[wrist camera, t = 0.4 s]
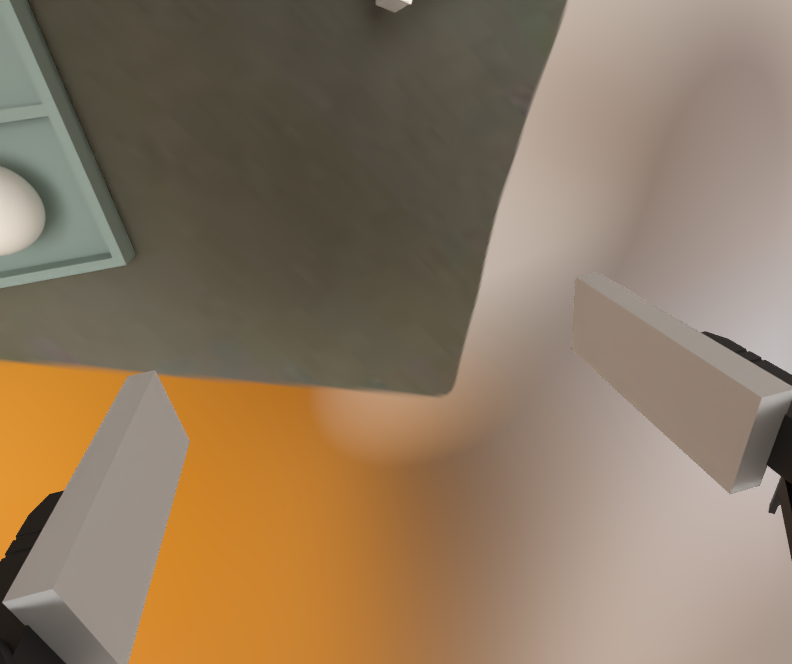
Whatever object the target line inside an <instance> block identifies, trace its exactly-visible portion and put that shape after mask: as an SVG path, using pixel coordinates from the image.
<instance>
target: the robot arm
mask: <svg viewBox="0 0 792 664" xmlns="http://www.w3.org/2000/svg"><path fill="white" fill-rule="evenodd" d="M571 349H572V350H573V351H574V352H575V353H576V354H577V355H578V356H579V357H580V358H582V359H583V360H584V361H585V362H586V363H587V364H588V365H589V366H590V367H591V368H593V369H594V370H595V371H596V372H597V373H598V374H599V375H600V376H602V378H604V379H605V380H606V381H607V382H608V383H609V384H610V385H611V386H612V387H613V388H614V389H615V390H617V391H618V392H619V393H620V394H621V395H622V396H623V397H624V398H625V399H627V400H628V401H629V402H630V403H631V404H632V405H633V406H634V407H635V408H636V409H637V410H639V411H640V412H641V413H642V414H643V415H644V416H645V417H646V418H647V419H648V420H649V421H650V422H652V423H653V424H654V425H655V426H656V427H657V428H658V429H659V430H660V431H661V432H663V433H664V434H665V435H666V436H667V437H668V438H669V439H670V440H671V441H672V442H673V443H675V444H676V445H677V446H678V447H679V448H680V449H681V450H682V451H683V452H684V453H686V454H687V455H688V456H689V457H690V458H691V459H692V460H693V461H694V462H695V463H696V464H698V465H699V466H700V467H701V468H702V469H703V470H704V471H705V472H706V473H707V474H709V475H710V476H711V477H712V478H713V479H714V480H715V481H716V482H717V483H718V484H719V485H721V486H722V487H723V488H724V489H725V490H726V491H727V492H728V493H729V494H733V493H736V492H739V491H743V490H746V489H750V488H753V487H757V486H760V484H761V481H762V479H763V476H764V473H765V471H766V468H767V465H768V466H769V467H770V468H771V469H773V470H774V471H775V472H777V473H778V474H779V475H780V476H781V478H780V480H779V483H778V485H777V488H776V491H775V493H774V495H773V498H772V501H771V503H770V506H769V513H773V514H775V512H776V510H777V507H778V506H779V505H781V508H782V513H783V518H784V524H785V528H786V534H787V539H788V543H789V549H790V554H791V559H792V375H791V374H789V373H787V372H786V371H784V370H782V369H780V368H778V367H777V366H775V365H773V364H772V363H770V362H768V361H766V360H762V359H761V357H759V356H757V355H756V354H754V353H752V352H750V351H749V352H747V351H746V349H745V348H743V347H742V346H740V345H738V344H736V343H734V342H733V341H731V340H729V339H727V338H724V337H721V336H718V335H715V334H712V333H709V332H699V331H697V330H695V329H694V328H692V327H690V326H689V325H687V324H685V323H684V322H682V321H680V320H678V319H677V318H675V317H673V316H672V315H670V314H668V313H667V312H665V311H663V310H661V309H660V308H658V307H656V306H655V305H653V304H651V303H650V302H648V301H646V300H644V299H643V298H641V297H639V296H638V295H636V294H634V293H632V292H631V291H629V290H627V289H626V288H624V287H622V286H621V285H619V284H617V283H615V282H614V281H612V280H610V279H609V278H607V277H605V276H604V275H602V274H600V273H598V272H595V273H590V274H586V275H582V276H577V277H576V280H575V296H574V311H573V328H572V343H571ZM189 442H190V441H189V439H188V437H187V435H186V433H185V431H184V428H183V427H182V424H181V422H180V420H179V418H178V416H177V414H176V412H175V410H174V408H173V406H172V404H171V402H170V400H169V398H168V395H167V393H166V392H165V389H164V387H163V385H162V383H161V381H160V379H159V377H158V375H157V373H156V371H155V370H154V371H150V372H145V373H141V374H136V375H132V376H128V377H127V379H126V380H125V382H124V384H123V386H122V388H121V389H120V391H119V393H118V395H117V397H116V398H115V400H114V402H113V404H112V406H111V407H110V409H109V411H108V413H107V415H106V416H105V418H104V420H103V422H102V424H101V425H100V427H99V429H98V431H97V433H96V434H95V436H94V438H93V440H92V442H91V443H90V445H89V447H88V449H87V451H86V452H85V454H84V456H83V458H82V460H81V462H80V463H79V465H78V467H77V469H76V470H75V472H74V474H73V476H72V478H71V479H70V481H69V483H68V485H67V487H66V488H65V490H64V491H60V492H56V493H52V494H49V495H48V496H47V497H46V498H45V499H44V500H43V501H42V502H41V503H40V504H39V505H38V506H37V507H36V508H35V509H34V510H33V511H32V512H31V513H30V514H29V515H28V517H27V519H26V520H25V522H24V524H23V525H22V527H21V529H20V530H19V532H18V533H17V535H16V540H13V542H12V543H11V545H10V547H9V548H8V550H7V552H6V553H5V555H6V557H5V558H3V559H2V560H1V561H0V664H128V662H129V658H130V655H131V651H132V647H133V643H134V640H135V637H136V633H137V629H138V626H139V622H140V619H141V615H142V611H143V608H144V604H145V601H146V597H147V593H148V590H149V586H150V582H151V579H152V575H153V572H154V568H155V564H156V561H157V557H158V553H159V550H160V546H161V543H162V539H163V535H164V532H165V528H166V525H167V521H168V517H169V514H170V510H171V506H172V503H173V500H174V495H175V492H176V489H177V485H178V481H179V478H180V474H181V471H182V467H183V463H184V460H185V456H186V453H187V449H188V445H189Z"/></svg>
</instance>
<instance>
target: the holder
mask: <svg viewBox="0 0 792 664" xmlns="http://www.w3.org/2000/svg"><path fill="white" fill-rule="evenodd" d="M0 166H2V167H5V168H7V169H9V170H11V171H13V172H15V173H17V174H18V175H20V176H21V177H23V178H24V179H25V180H26V181H27V182H28V183H30V184H31V185H32V187H33V188H34V189H35V190H36V192H37V193H38V194H39V196H40V198H41V200H42V202H43V205H44V208H45V215H46V217H45V225H44V228H43V231H42V233H41V235H40V236H39V238H38V239H37V240H36V241H35V242H34V243H33V244H32V245H30V246H29V247H28V248H26V249H24V250H22V251H20V252H17V253H14V254H10V255H5V256H0V288H4V287H10V286H15V285H20V284H26V283H31V282H37V281H42V280H48V279H53V278H58V277H64V276H69V275H75V274H80V273H86V272H91V271H97V270H102V269H107V268H113V267H118V266H124V265H127V264H128V263H129V262H130V261H131V260H132V259H133V257H134V256H135V255H136V254H135V251H134V249H133V247H132V244H131V242H130V239H129V237H128V235H127V232H126V230H125V228H124V225H123V223H122V221H121V218H120V216H119V214H118V211H117V209H116V207H115V204H114V202H113V200H112V197H111V195H110V193H109V190H108V188H107V185H106V183H105V181H104V178H103V176H102V174H101V171H100V169H99V167H98V164H97V162H96V160H95V157H94V155H93V153H92V150H91V148H90V146H89V143H88V141H87V138H86V136H85V134H84V131H83V129H82V127H81V124H80V122H79V120H78V117H77V115H76V113H75V110H74V108H73V106H72V103H71V101H70V99H69V96H68V94H67V91H66V89H65V87H64V84H63V82H62V80H61V77H60V75H59V73H58V70H57V68H56V66H55V63H54V61H53V59H52V56H51V54H50V52H49V49H48V47H47V44H46V42H45V40H44V37H43V35H42V33H41V30H40V28H39V26H38V23H37V21H36V19H35V16H34V14H33V12H32V9H31V7H30V5H29V2H28V0H0Z"/></svg>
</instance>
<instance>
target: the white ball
mask: <svg viewBox="0 0 792 664" xmlns="http://www.w3.org/2000/svg"><path fill="white" fill-rule="evenodd" d="M45 217H46V215H45V208H44V205H43V202H42V200H41V198H40V196H39V194H38V193H37V192H36V190H35V189H34V188H33V187H32V185H31V184H30V183H28V182H27V181H26V180H25V179H24V178H23V177H21V176H20V175H18V174H17V173H15V172H13V171H11V170H9V169H7V168H5V167H2V166H0V256H5V255H10V254H14V253H17V252H20V251H22V250H24V249H26V248H28V247H29V246H30V245H32V244H33V243H34V242H35V241H36V240H37V239H38V238H39V236H40V235H41V233H42V231H43V228H44V225H45Z"/></svg>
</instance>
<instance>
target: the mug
mask: <svg viewBox="0 0 792 664" xmlns="http://www.w3.org/2000/svg"><path fill="white" fill-rule="evenodd" d="M409 4H410V5H411V4H412V0H376V5H377V6H379V7H382V8H384V9H387V10H389V11H392V12H394V13H395V12H397V11H399V10H400V9H402V8H404V7H406V6H407V5H409Z"/></svg>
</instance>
